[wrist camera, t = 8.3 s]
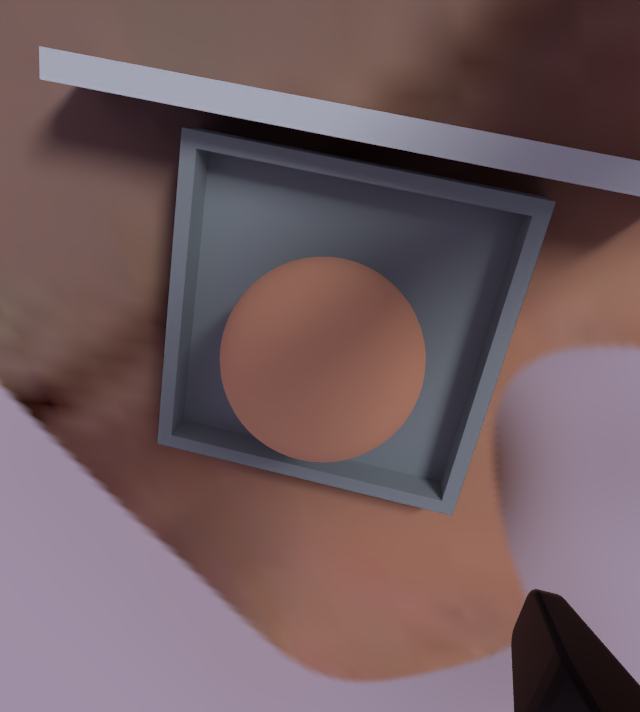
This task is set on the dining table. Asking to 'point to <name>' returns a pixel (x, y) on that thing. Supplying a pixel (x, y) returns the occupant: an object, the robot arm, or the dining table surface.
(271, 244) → the grey square tray
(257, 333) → the ball
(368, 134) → the wall
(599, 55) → the dining table surface
